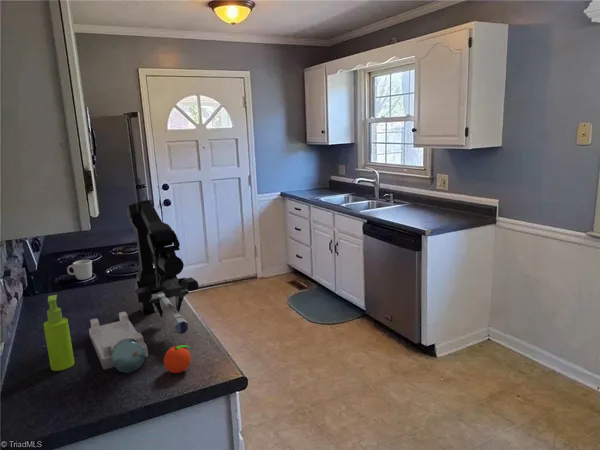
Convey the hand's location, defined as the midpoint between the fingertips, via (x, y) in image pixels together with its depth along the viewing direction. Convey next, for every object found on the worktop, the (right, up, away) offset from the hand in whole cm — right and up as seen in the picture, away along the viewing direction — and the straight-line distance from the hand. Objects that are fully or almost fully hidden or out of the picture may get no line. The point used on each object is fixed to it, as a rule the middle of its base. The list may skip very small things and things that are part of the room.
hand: (169, 315), depth 137 cm
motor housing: (-13, -9, -8) cm, 17 cm away
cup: (-61, +3, +65) cm, 89 cm away
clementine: (+9, -11, -21) cm, 25 cm away
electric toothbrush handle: (0, -2, 0) cm, 2 cm away
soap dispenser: (-26, -11, -15) cm, 32 cm away
